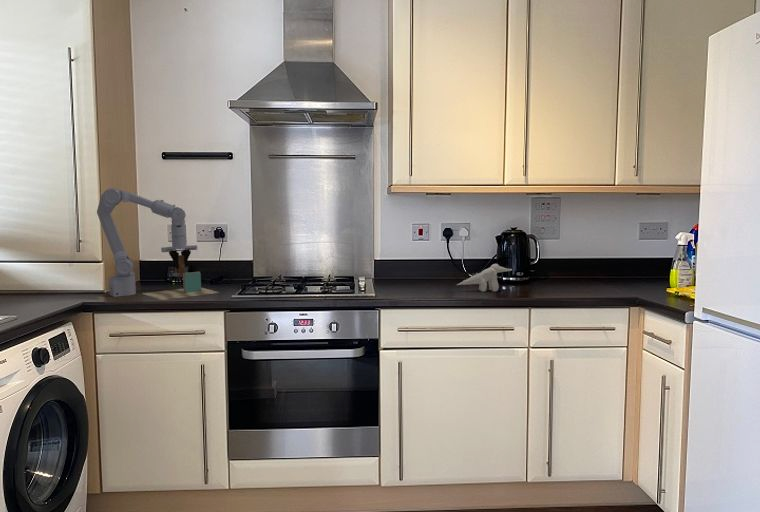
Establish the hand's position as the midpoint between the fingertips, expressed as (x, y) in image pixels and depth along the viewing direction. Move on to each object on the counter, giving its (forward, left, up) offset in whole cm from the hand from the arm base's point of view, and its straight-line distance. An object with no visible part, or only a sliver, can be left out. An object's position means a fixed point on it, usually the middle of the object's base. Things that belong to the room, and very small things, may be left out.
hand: (180, 268), depth 223 cm
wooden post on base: (0, 0, -3) cm, 3 cm away
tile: (+2, -7, -10) cm, 12 cm away
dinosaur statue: (+90, -91, -11) cm, 128 cm away
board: (-3, -7, -11) cm, 13 cm away
